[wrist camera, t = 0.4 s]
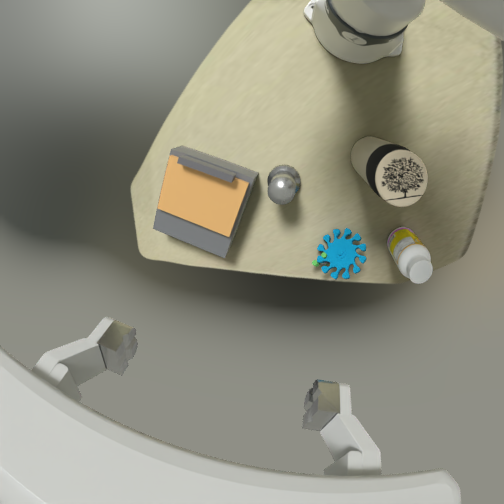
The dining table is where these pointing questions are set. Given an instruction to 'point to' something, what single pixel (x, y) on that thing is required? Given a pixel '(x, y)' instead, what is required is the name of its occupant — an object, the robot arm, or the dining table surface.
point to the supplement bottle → (410, 255)
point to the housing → (193, 231)
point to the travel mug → (390, 170)
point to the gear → (340, 254)
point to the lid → (202, 193)
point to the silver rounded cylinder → (283, 184)
